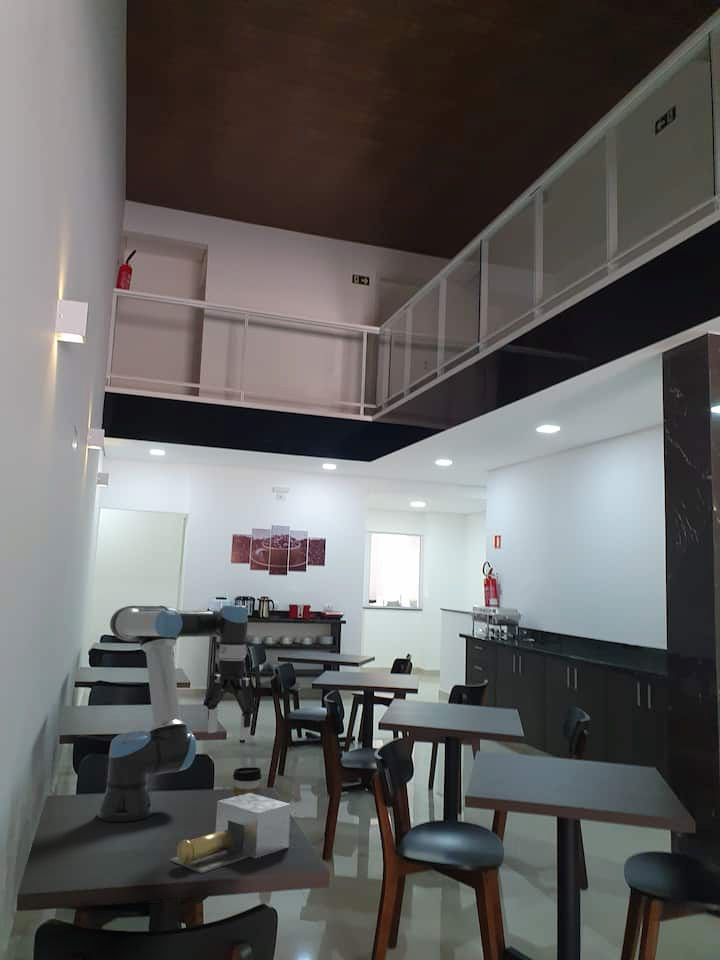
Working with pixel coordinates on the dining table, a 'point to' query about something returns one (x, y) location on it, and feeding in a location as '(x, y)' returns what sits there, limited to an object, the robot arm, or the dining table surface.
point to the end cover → (204, 846)
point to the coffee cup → (246, 780)
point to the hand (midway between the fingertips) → (227, 735)
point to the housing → (247, 830)
